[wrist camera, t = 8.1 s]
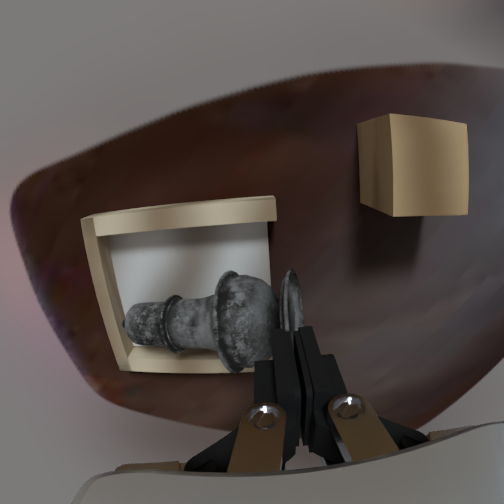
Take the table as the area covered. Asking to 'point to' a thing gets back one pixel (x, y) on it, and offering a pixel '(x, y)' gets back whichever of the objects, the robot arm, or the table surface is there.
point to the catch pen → (173, 266)
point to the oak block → (413, 165)
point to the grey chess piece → (221, 319)
